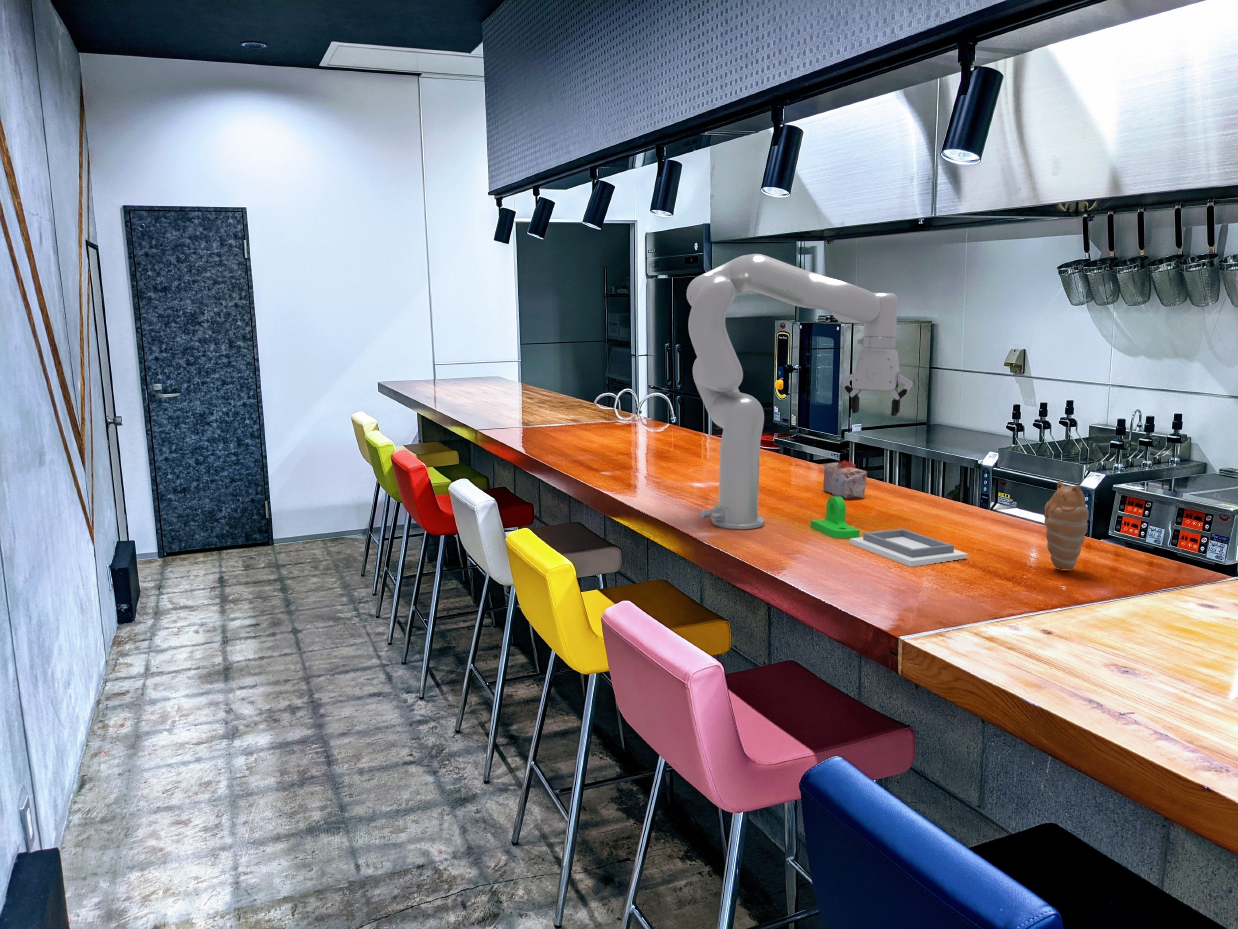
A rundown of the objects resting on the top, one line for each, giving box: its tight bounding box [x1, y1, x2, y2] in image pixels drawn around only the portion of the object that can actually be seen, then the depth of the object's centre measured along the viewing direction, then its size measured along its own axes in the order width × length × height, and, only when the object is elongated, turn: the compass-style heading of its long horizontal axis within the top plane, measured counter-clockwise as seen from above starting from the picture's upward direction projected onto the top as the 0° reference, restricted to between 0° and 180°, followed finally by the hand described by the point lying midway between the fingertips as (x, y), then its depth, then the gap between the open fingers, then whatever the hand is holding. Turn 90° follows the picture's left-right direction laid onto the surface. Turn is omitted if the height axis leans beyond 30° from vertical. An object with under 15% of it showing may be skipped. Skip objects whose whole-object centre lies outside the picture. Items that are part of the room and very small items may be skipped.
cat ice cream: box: [1043, 480, 1089, 570], centre depth 185 cm, size 9×8×18 cm
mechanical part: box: [810, 496, 861, 540], centre depth 217 cm, size 12×6×8 cm, turn 17°
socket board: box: [849, 528, 969, 568], centre depth 201 cm, size 15×20×3 cm
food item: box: [822, 460, 868, 500], centre depth 260 cm, size 14×8×10 cm, turn 20°
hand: (874, 414), depth 230 cm, fingers open, 9 cm apart
